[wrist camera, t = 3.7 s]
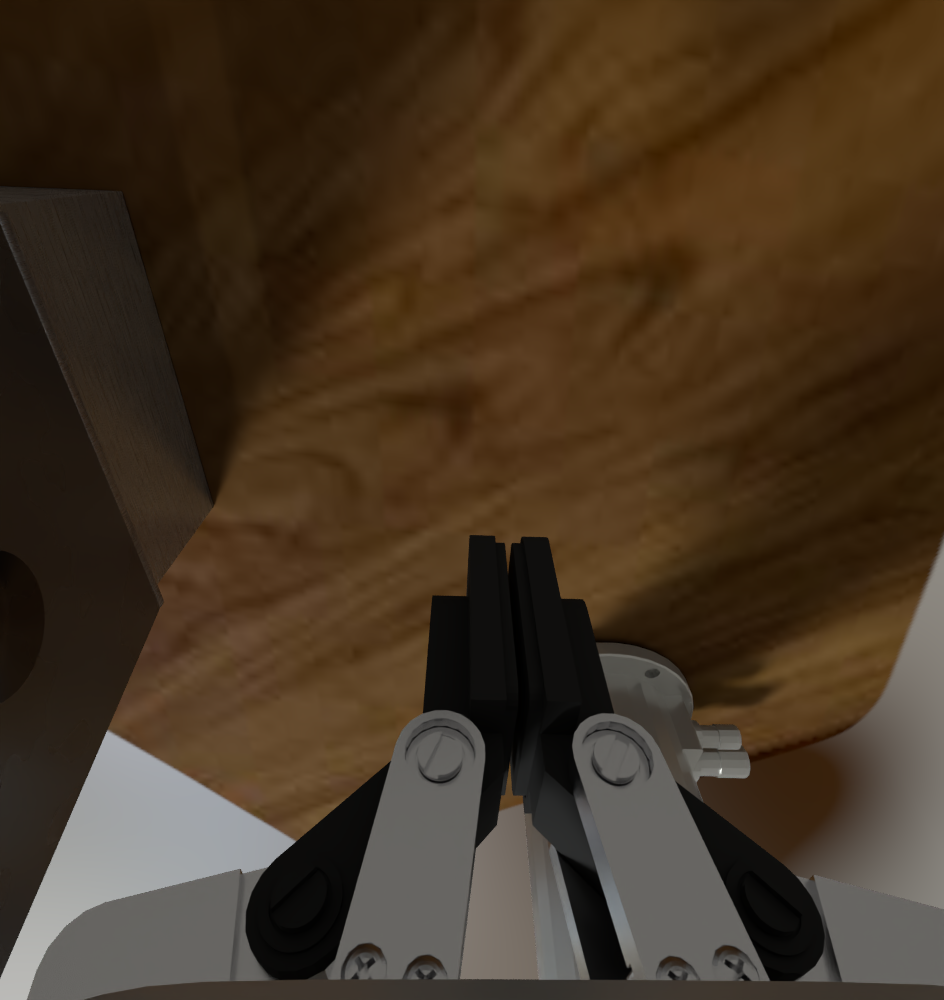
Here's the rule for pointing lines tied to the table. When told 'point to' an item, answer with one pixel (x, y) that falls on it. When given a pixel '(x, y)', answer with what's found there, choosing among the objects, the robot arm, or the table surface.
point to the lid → (54, 592)
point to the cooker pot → (115, 356)
